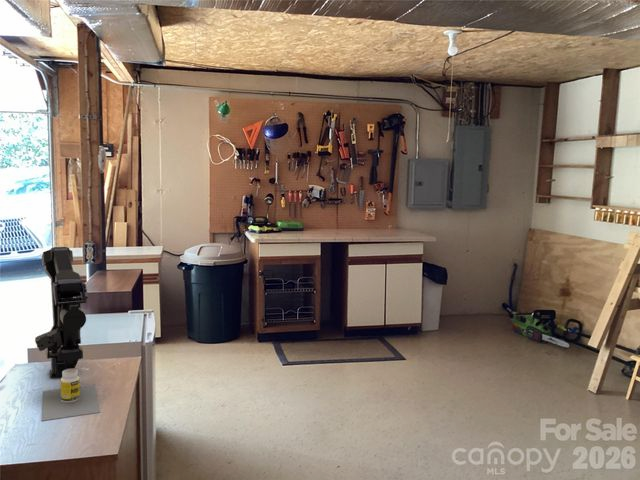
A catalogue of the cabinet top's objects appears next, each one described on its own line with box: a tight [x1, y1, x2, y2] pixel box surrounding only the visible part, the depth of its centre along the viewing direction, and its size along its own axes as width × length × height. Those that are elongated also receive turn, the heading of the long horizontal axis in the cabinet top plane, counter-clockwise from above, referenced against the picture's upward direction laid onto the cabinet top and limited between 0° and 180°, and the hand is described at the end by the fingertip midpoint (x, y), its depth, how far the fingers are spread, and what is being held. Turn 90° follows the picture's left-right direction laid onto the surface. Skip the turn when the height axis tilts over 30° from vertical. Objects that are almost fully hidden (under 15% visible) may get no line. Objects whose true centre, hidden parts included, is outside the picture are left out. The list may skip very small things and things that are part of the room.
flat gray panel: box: [40, 384, 101, 422], centre depth 146 cm, size 20×14×1 cm
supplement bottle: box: [60, 367, 81, 403], centre depth 146 cm, size 5×5×8 cm
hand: (69, 374), depth 149 cm, fingers closed
